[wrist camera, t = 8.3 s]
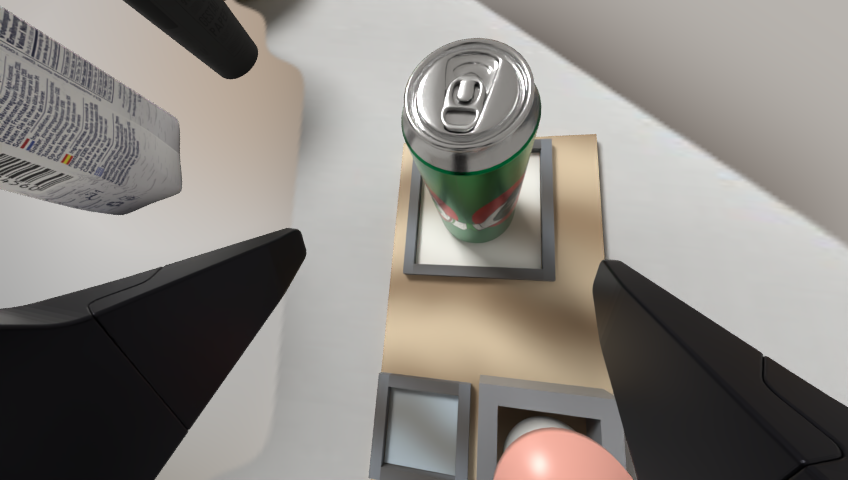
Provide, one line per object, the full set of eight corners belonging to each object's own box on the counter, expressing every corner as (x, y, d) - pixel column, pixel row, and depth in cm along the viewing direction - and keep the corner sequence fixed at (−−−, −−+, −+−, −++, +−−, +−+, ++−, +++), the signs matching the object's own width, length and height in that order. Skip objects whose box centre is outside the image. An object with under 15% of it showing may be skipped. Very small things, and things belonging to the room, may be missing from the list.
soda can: (518, 181, 21) (557, 27, 10) (508, 250, 20) (535, 168, 9) (449, 174, 22) (410, 28, 11) (435, 239, 21) (377, 152, 10)
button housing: (611, 533, 16) (633, 572, 13) (476, 505, 17) (474, 535, 15) (603, 388, 17) (621, 400, 15) (480, 374, 19) (479, 383, 16)
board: (618, 539, 16) (628, 556, 15) (373, 487, 19) (365, 498, 18) (593, 138, 22) (599, 129, 20) (405, 147, 25) (401, 139, 23)
